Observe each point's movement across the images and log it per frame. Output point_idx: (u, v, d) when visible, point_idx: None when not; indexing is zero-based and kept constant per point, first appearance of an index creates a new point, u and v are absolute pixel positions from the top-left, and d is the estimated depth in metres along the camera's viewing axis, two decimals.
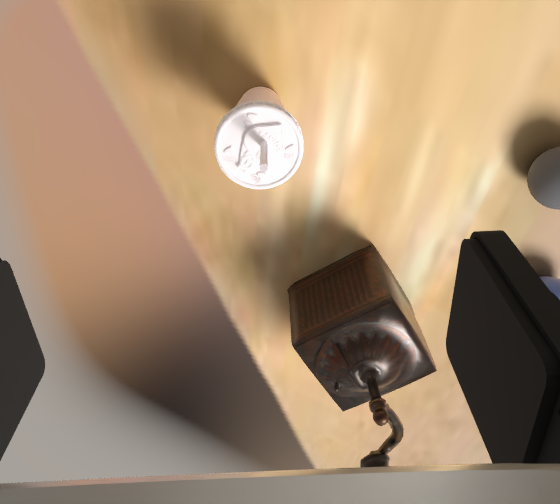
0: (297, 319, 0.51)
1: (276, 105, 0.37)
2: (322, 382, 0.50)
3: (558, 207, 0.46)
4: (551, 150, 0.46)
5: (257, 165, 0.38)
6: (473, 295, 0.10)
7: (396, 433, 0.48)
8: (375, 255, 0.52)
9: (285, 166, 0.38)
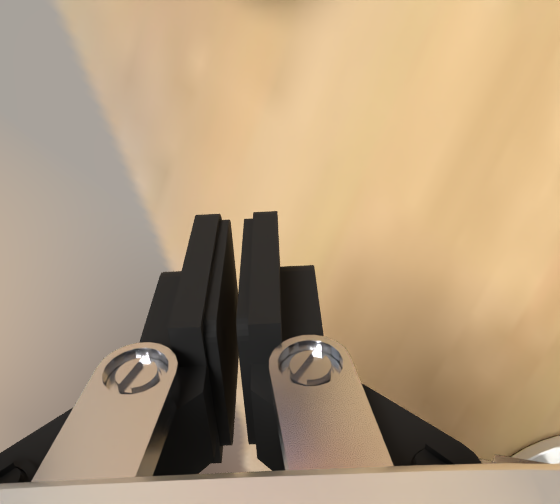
0: None
1: None
2: None
3: None
4: None
5: None
6: None
7: None
8: None
9: None
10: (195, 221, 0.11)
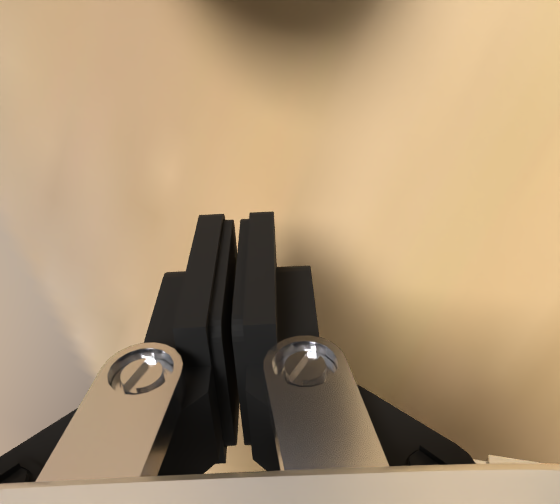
0: None
1: None
2: None
3: None
4: None
5: None
6: None
7: None
8: None
9: None
10: (199, 221, 0.11)
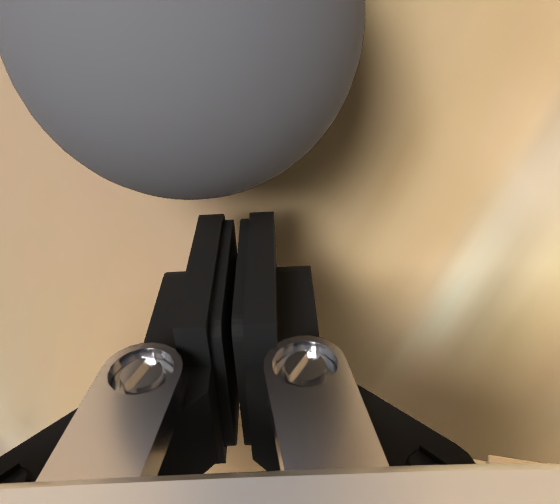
0: None
1: None
2: None
3: None
4: None
5: None
6: None
7: None
8: None
9: None
10: (199, 221, 0.11)
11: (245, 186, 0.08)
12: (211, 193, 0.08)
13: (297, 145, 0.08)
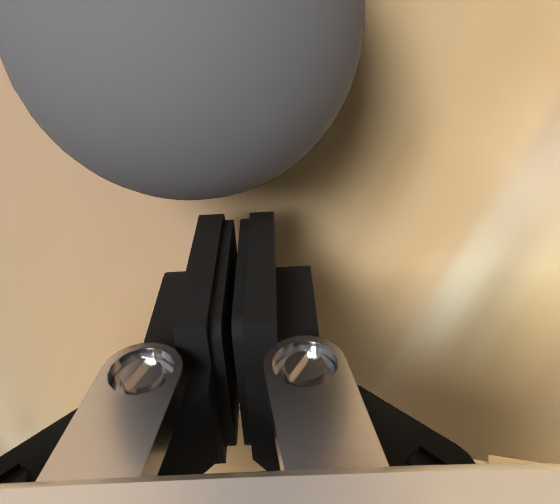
0: None
1: None
2: None
3: None
4: None
5: None
6: None
7: None
8: None
9: None
10: (199, 221, 0.11)
11: (245, 186, 0.08)
12: (211, 193, 0.08)
13: (297, 146, 0.08)
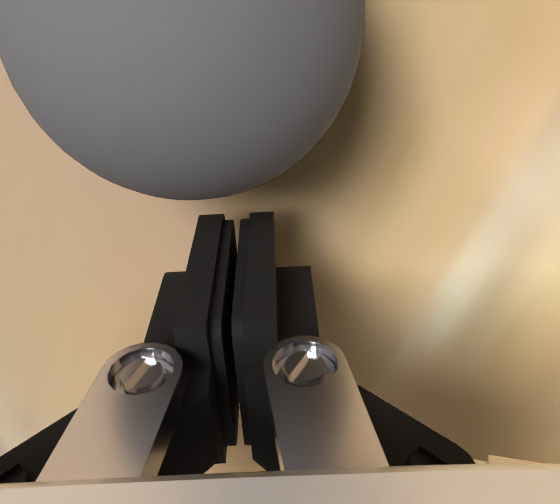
0: None
1: None
2: None
3: None
4: None
5: None
6: None
7: None
8: None
9: None
10: (199, 221, 0.11)
11: (245, 186, 0.08)
12: (211, 193, 0.08)
13: (297, 146, 0.08)
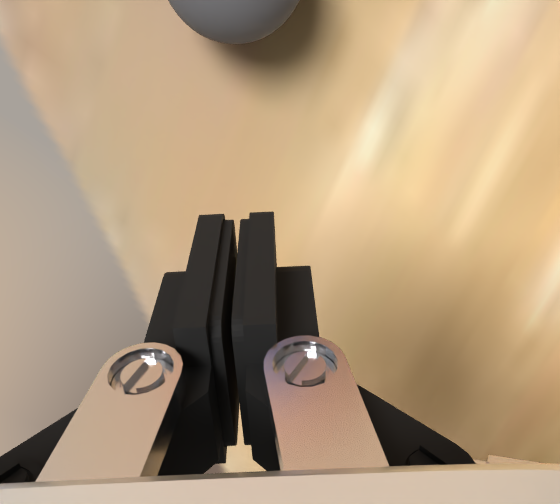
0: None
1: None
2: None
3: None
4: None
5: None
6: None
7: None
8: None
9: None
10: (199, 221, 0.11)
11: (257, 32, 0.20)
12: (243, 34, 0.19)
13: (279, 11, 0.19)
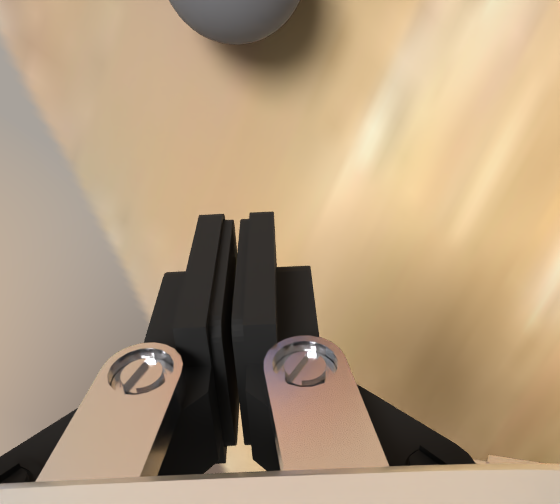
0: None
1: None
2: None
3: None
4: None
5: None
6: None
7: None
8: None
9: None
10: (199, 221, 0.11)
11: (258, 32, 0.20)
12: (244, 34, 0.20)
13: (279, 12, 0.19)
